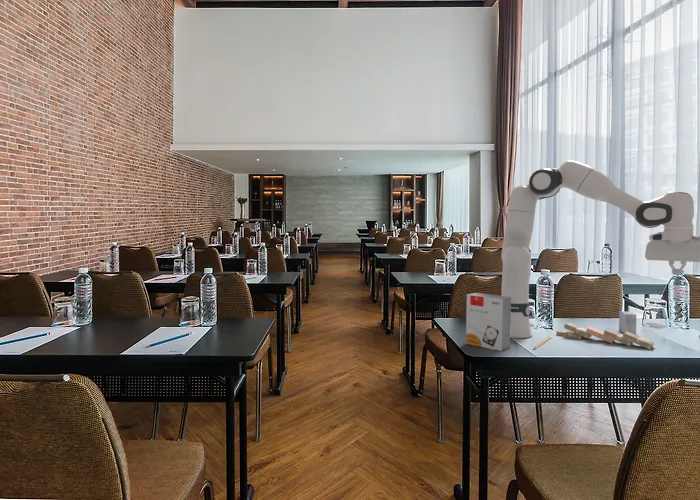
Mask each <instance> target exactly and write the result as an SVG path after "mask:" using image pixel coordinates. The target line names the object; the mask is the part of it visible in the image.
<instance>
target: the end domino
mask: <svg viewBox="0 0 700 500" xmlns="http://www.w3.org/2000/svg"><path fill="white" fill-rule="evenodd" d="M622 334H623V336H622V338H624V339H626V340H629V341H631V342H633V344H635V345H638V346H640V347H643V348H645V349H648V350H651V349H653V347H654V344H655V341H652V340H649V339H647V338H644V337H642V336H640V335H637V334H633V333H630V332H628V331H626V332H625V333H622Z"/></svg>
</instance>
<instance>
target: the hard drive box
mask: <svg viewBox="0 0 700 500" xmlns="http://www.w3.org/2000/svg"><path fill="white" fill-rule="evenodd" d="M465 295H466V300H465V301H466V303H465V305H466V307H465V310H466V311H465V344H466V345H469V346H470V345H471V346H474V347H480V348H484V349H489V350H493V351H498V352H502V351H505V350H508V349H510V348H511V338H510V321H511V297H507V296H502V295H498V294H497V295H496V294H489V293H482V292H481V293H480V292H473V293H468V294H465Z"/></svg>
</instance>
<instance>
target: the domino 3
mask: <svg viewBox="0 0 700 500" xmlns="http://www.w3.org/2000/svg"><path fill="white" fill-rule="evenodd" d="M586 329H587V331H586V333H588V334H590V335H592V336H593V337H595V338H598V339H600V340H603V341H604V342H607V343H610V344H613V343H614V342H615V340H614V339H612V338H610V337H607V336H605V335H603V333H604V331H605V330H601V329H598V328H596V327H593V326H591V325H590V326H588V327H587V328H586Z"/></svg>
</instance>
